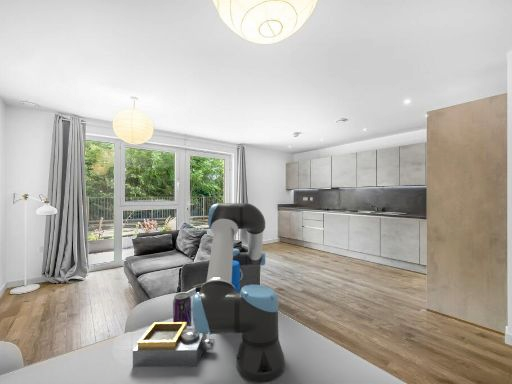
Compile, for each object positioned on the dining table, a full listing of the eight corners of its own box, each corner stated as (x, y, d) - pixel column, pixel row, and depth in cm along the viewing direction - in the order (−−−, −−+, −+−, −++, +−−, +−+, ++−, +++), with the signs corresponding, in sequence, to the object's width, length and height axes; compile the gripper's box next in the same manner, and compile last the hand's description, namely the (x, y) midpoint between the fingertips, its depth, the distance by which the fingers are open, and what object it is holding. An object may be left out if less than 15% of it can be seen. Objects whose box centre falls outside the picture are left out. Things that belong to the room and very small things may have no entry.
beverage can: (186, 330, 95) (185, 299, 95) (169, 328, 97) (169, 298, 97) (194, 321, 102) (193, 292, 102) (178, 319, 104) (178, 291, 104)
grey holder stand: (217, 339, 89) (217, 320, 89) (209, 366, 75) (209, 343, 75) (152, 340, 89) (152, 321, 89) (132, 366, 75) (132, 344, 75)
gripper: (244, 293, 122) (220, 312, 103) (204, 286, 133) (176, 301, 114) (244, 278, 122) (220, 294, 103) (204, 272, 133) (176, 285, 114)
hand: (197, 298), depth 108 cm, fingers open, 13 cm apart
